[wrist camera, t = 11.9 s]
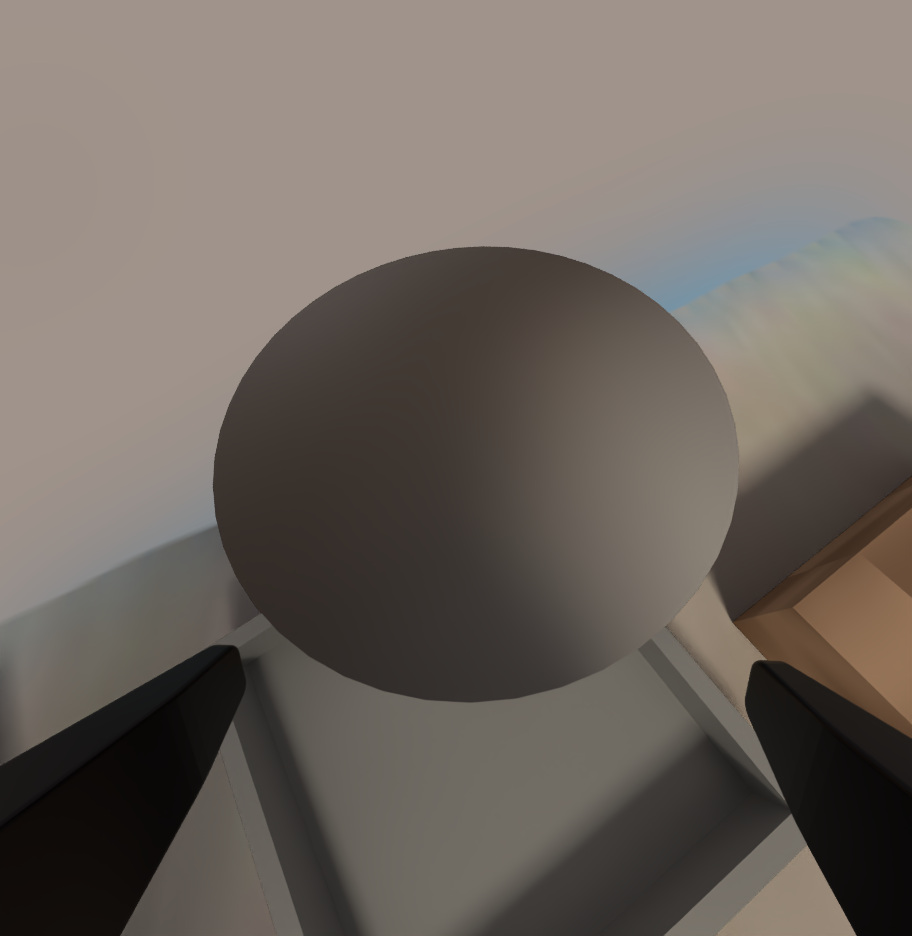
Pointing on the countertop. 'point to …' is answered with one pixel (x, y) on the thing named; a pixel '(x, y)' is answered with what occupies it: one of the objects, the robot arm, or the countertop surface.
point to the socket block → (850, 613)
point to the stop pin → (476, 474)
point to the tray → (502, 801)
